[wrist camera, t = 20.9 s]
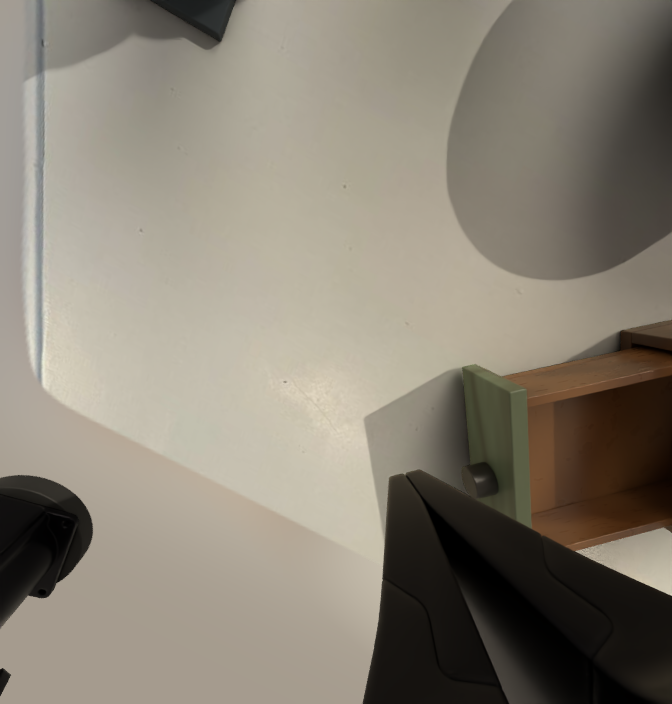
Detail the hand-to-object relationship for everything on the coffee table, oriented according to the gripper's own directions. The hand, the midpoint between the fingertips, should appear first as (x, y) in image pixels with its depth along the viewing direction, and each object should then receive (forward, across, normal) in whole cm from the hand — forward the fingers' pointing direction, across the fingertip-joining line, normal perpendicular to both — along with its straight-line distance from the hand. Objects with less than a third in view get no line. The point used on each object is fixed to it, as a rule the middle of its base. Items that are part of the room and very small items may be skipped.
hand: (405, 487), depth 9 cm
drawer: (+12, -15, +9) cm, 21 cm away
